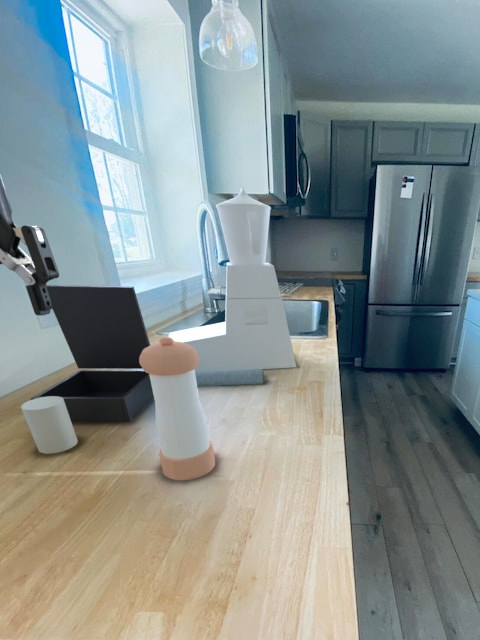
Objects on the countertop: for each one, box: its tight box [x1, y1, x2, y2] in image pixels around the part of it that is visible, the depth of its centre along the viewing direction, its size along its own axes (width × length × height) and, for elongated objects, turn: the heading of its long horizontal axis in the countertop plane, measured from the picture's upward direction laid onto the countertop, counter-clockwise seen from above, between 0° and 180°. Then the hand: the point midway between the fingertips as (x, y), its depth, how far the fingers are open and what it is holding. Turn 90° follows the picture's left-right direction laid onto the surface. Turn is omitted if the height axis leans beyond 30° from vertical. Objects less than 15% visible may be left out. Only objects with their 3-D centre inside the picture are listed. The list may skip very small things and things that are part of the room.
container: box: [20, 396, 79, 455], centre depth 56 cm, size 5×5×8 cm
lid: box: [46, 284, 151, 370], centre depth 73 cm, size 16×16×6 cm
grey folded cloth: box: [195, 369, 265, 387], centre depth 84 cm, size 23×7×3 cm, turn 100°
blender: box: [167, 188, 297, 372], centre depth 90 cm, size 33×18×40 cm, turn 104°
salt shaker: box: [139, 336, 216, 481], centre depth 49 cm, size 7×7×19 cm
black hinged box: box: [30, 369, 154, 423], centre depth 71 cm, size 16×16×5 cm
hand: (10, 313), depth 49 cm, fingers open, 8 cm apart
